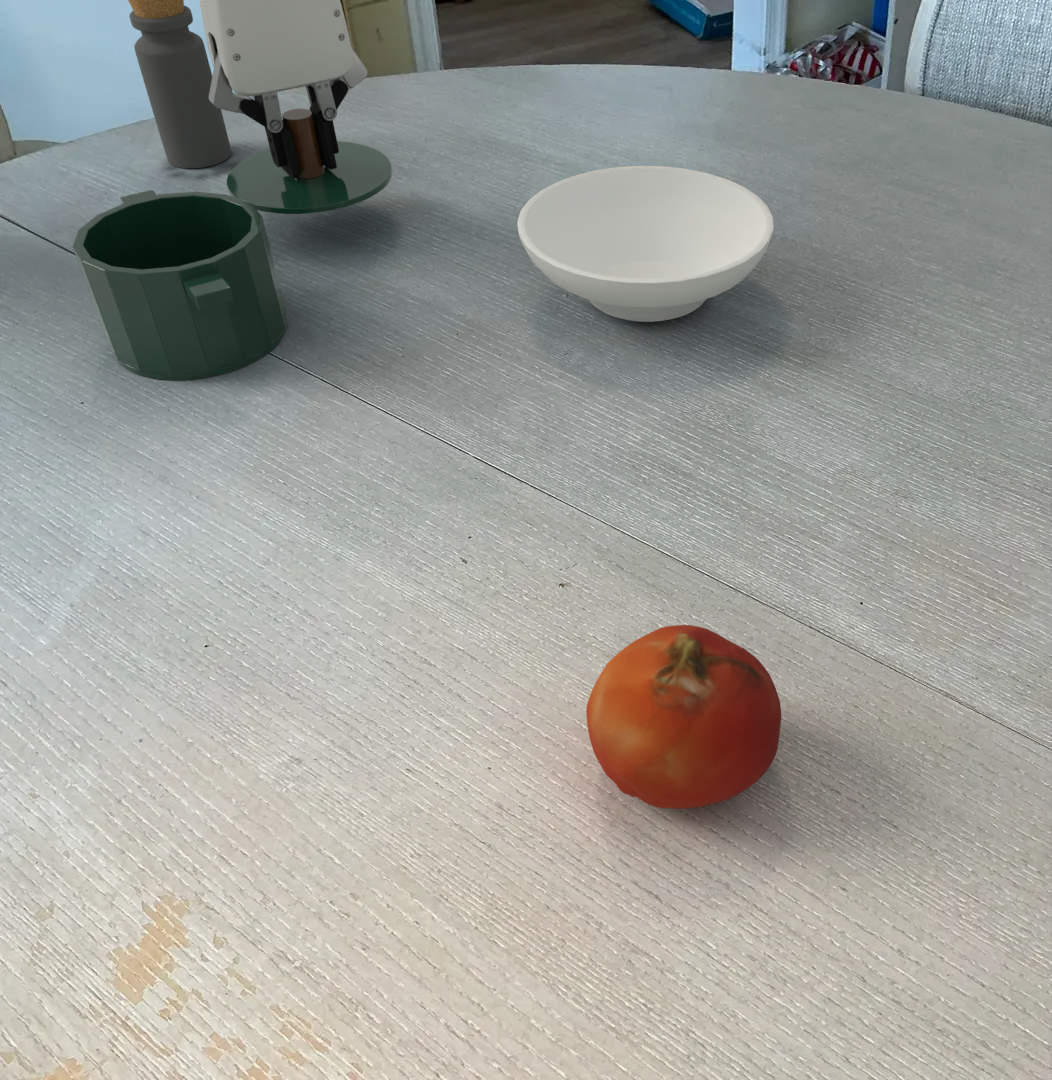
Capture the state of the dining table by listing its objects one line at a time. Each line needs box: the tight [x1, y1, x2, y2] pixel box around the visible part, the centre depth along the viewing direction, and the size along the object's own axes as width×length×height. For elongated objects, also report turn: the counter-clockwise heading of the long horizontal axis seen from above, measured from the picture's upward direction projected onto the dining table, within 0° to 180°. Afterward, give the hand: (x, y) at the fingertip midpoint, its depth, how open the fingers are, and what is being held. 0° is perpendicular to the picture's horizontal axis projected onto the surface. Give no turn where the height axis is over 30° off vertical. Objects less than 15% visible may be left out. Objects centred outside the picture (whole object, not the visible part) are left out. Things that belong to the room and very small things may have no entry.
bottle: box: [127, 0, 232, 169], centre depth 107 cm, size 6×6×15 cm
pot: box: [72, 189, 288, 381], centre depth 86 cm, size 12×18×8 cm
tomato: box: [585, 624, 782, 810], centre depth 57 cm, size 9×9×8 cm
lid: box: [226, 108, 393, 215], centre depth 98 cm, size 13×13×6 cm
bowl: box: [516, 165, 775, 323], centre depth 92 cm, size 20×20×7 cm
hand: (308, 166), depth 99 cm, fingers closed on lid, 2 cm apart
